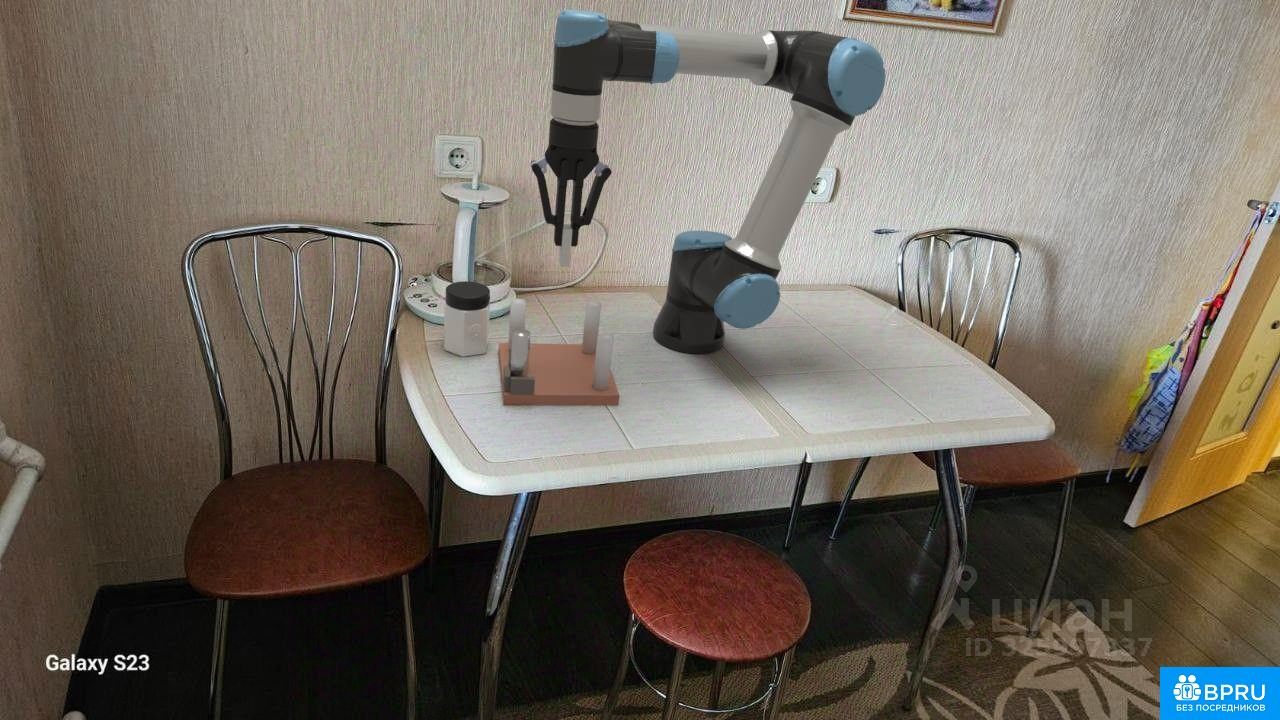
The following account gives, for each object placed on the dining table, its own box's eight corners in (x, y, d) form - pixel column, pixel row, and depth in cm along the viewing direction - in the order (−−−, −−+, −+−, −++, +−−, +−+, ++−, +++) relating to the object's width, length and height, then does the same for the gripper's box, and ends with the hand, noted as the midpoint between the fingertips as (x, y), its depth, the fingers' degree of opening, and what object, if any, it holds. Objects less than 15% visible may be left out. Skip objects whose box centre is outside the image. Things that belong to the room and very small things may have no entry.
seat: (600, 353, 161) (607, 297, 155) (618, 405, 144) (625, 344, 138) (498, 352, 156) (501, 294, 151) (503, 405, 139) (506, 342, 134)
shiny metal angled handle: (508, 361, 149) (510, 310, 144) (528, 361, 149) (531, 312, 145) (507, 388, 140) (510, 336, 135) (529, 389, 140) (532, 337, 136)
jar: (452, 359, 151) (453, 300, 146) (436, 341, 157) (436, 283, 152) (496, 352, 156) (499, 294, 151) (480, 335, 162) (481, 278, 157)
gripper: (612, 117, 130) (599, 257, 140) (530, 111, 127) (523, 254, 137) (620, 128, 123) (606, 273, 134) (534, 121, 120) (526, 271, 131)
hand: (564, 263), depth 136 cm, fingers closed
